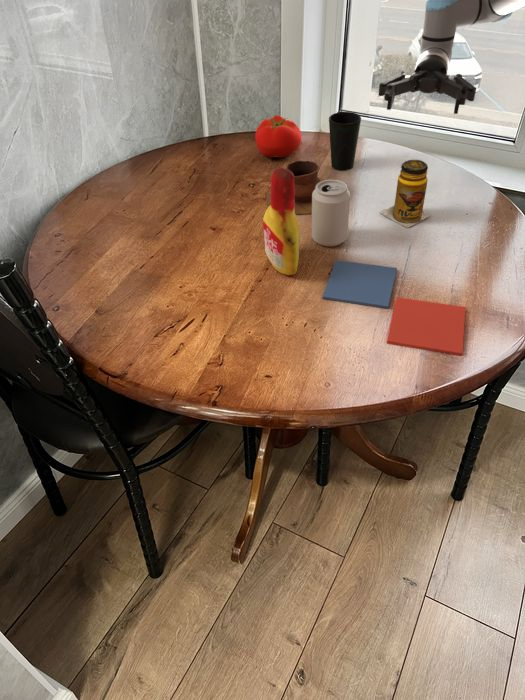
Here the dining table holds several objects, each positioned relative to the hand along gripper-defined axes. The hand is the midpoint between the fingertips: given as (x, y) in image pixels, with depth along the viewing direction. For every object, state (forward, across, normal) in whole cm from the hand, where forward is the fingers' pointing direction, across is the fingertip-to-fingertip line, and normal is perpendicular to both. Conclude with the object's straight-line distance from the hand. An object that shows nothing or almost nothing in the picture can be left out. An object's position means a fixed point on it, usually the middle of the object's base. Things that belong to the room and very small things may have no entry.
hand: (422, 105), depth 111 cm
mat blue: (+37, +5, -20) cm, 42 cm away
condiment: (+10, 0, -20) cm, 22 cm away
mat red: (+46, -8, -20) cm, 50 cm away
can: (+23, +14, -20) cm, 33 cm away
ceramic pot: (+6, +24, -20) cm, 32 cm away
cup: (-11, +18, -20) cm, 29 cm away
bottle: (+34, +21, -20) cm, 44 cm away
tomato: (-16, +36, -20) cm, 44 cm away
